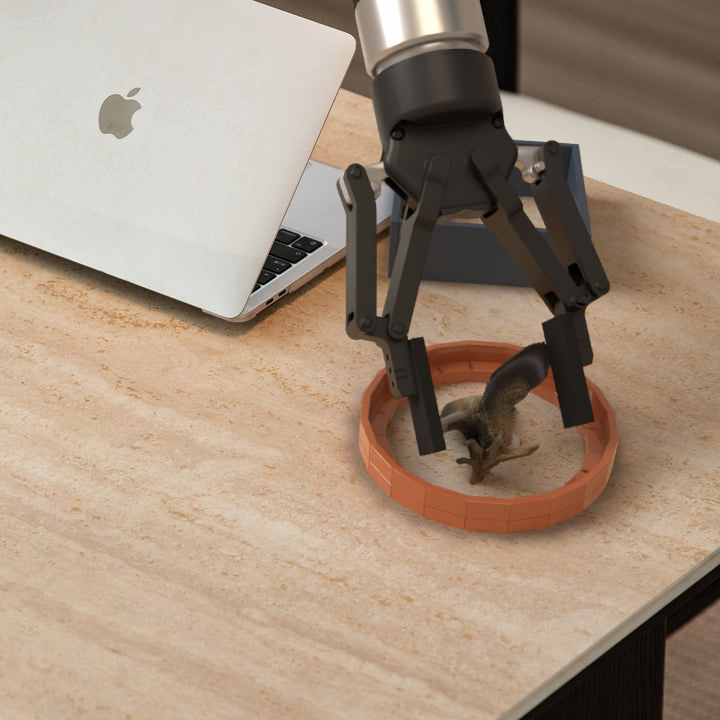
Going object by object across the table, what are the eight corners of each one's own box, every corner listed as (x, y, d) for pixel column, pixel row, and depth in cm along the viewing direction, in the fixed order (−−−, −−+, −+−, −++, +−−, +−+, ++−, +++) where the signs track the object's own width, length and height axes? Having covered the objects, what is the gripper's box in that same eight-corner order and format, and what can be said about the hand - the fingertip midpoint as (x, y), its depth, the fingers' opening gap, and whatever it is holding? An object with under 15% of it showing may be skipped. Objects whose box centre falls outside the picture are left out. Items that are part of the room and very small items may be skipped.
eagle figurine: (570, 489, 72) (578, 375, 78) (513, 414, 68) (525, 300, 74) (456, 516, 76) (472, 406, 82) (395, 446, 72) (416, 335, 78)
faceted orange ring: (599, 386, 82) (606, 349, 81) (620, 552, 70) (629, 513, 68) (368, 368, 83) (370, 332, 81) (349, 530, 71) (350, 492, 69)
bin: (569, 204, 102) (579, 143, 99) (581, 300, 91) (591, 235, 87) (397, 192, 103) (400, 132, 99) (387, 286, 91) (390, 221, 88)
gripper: (564, 75, 81) (640, 415, 78) (245, 108, 75) (316, 477, 72) (616, 27, 74) (701, 399, 71) (268, 59, 68) (347, 467, 65)
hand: (507, 438), depth 72 cm, fingers closed on eagle figurine, 8 cm apart
